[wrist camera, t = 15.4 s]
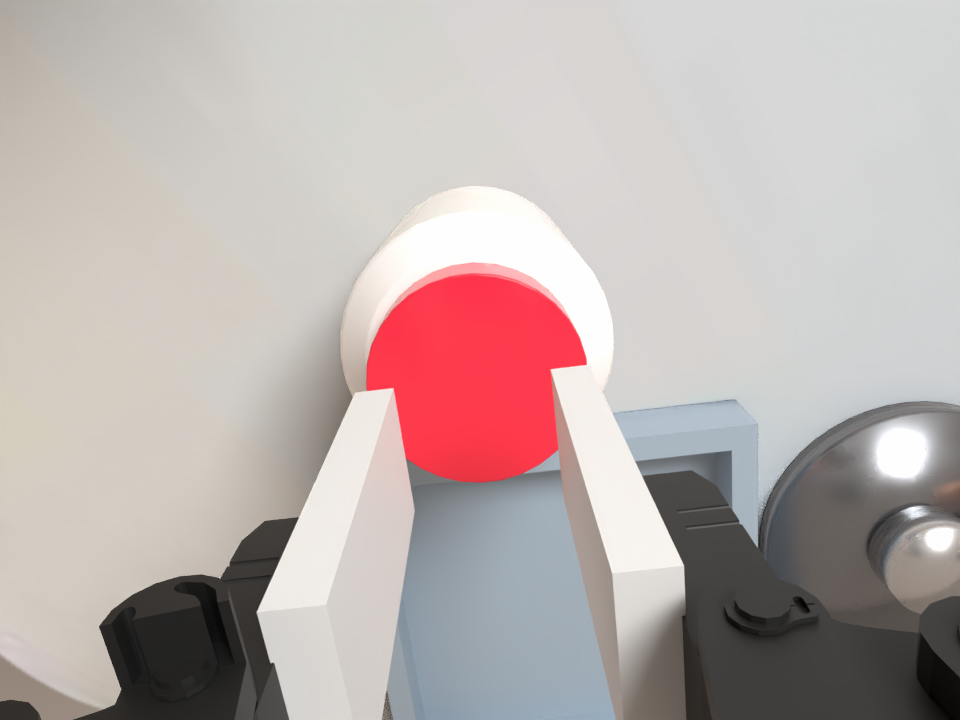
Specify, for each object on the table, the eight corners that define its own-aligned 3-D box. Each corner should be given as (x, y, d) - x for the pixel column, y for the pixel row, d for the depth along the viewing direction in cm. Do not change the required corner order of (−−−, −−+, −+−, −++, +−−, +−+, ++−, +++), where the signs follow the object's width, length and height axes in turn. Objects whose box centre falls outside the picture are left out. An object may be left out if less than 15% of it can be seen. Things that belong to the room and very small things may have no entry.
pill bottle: (575, 376, 29) (631, 517, 19) (386, 383, 29) (335, 527, 19) (576, 181, 27) (640, 217, 16) (369, 189, 27) (301, 231, 16)
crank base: (759, 652, 33) (808, 744, 28) (759, 418, 30) (816, 477, 25) (1032, 625, 33) (1130, 713, 28) (1067, 383, 29) (1188, 436, 24)
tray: (410, 738, 35) (405, 783, 33) (352, 443, 30) (342, 470, 28) (738, 705, 34) (757, 748, 32) (735, 399, 29) (758, 423, 27)
